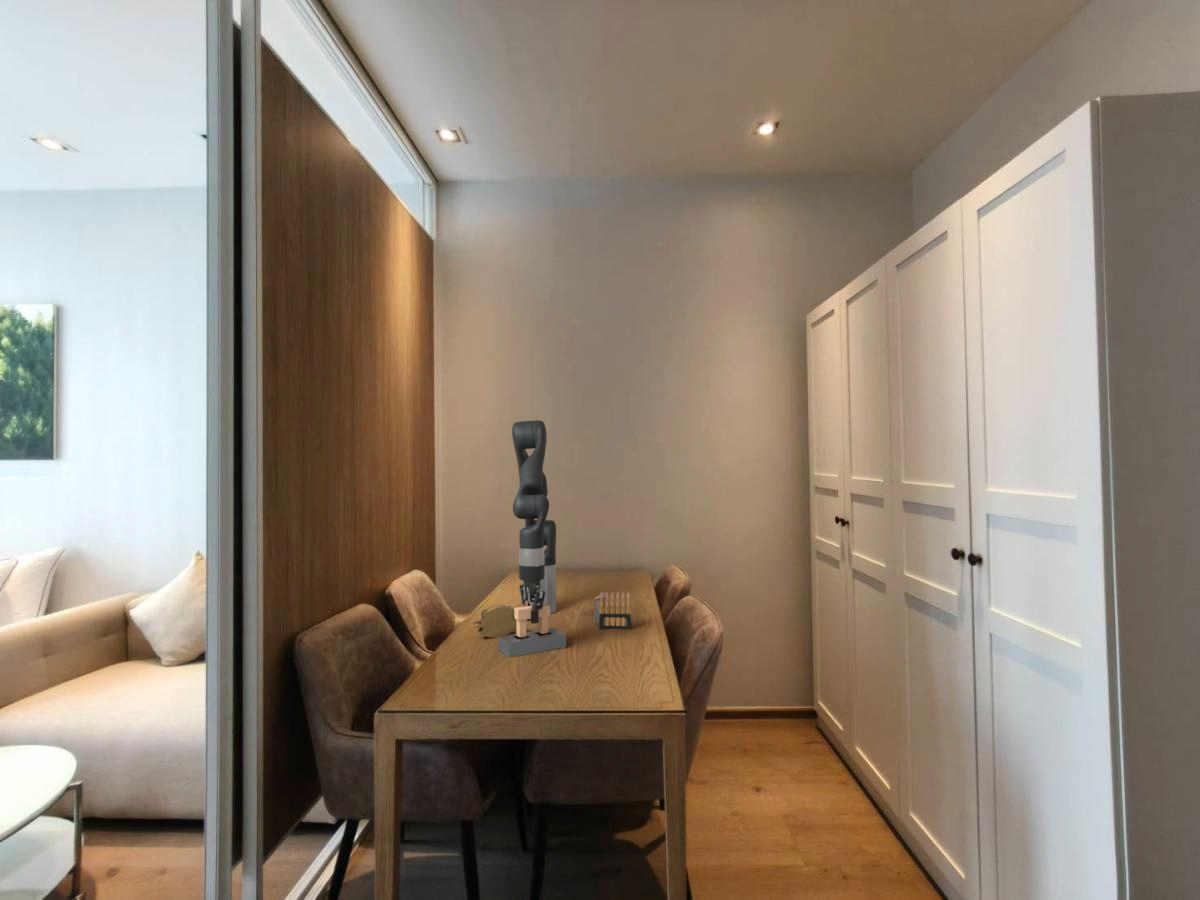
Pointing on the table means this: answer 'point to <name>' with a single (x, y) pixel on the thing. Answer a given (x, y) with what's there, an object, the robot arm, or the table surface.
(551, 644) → the grey socket block
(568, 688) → the table surface
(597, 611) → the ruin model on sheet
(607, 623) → the ammunition clip
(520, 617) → the prong clip
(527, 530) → the robot arm
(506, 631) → the wooden carving
